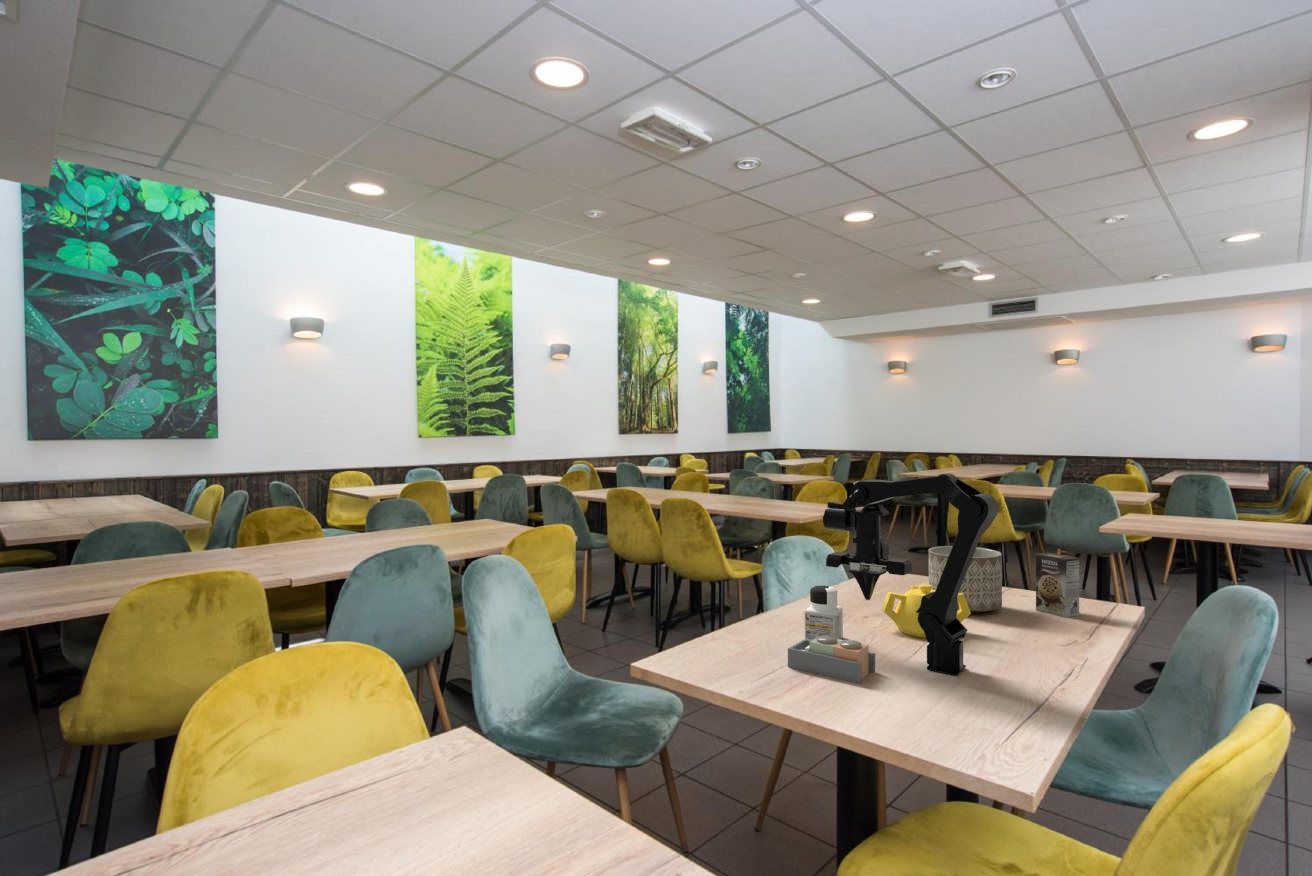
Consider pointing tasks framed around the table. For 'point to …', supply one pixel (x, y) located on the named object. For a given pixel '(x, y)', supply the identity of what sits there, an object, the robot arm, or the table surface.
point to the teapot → (915, 609)
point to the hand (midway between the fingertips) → (868, 599)
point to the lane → (827, 663)
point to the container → (823, 614)
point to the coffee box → (1057, 584)
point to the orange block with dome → (853, 653)
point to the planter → (973, 577)
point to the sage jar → (824, 645)
